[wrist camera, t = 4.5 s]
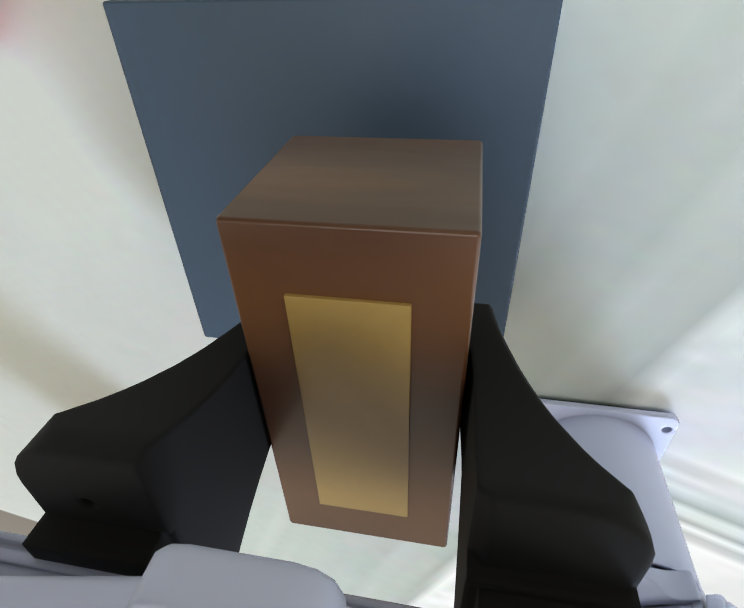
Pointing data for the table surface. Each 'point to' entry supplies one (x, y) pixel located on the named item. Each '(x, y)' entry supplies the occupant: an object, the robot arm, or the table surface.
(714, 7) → the table surface
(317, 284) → the plaque
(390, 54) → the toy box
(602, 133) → the table surface
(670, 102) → the table surface
